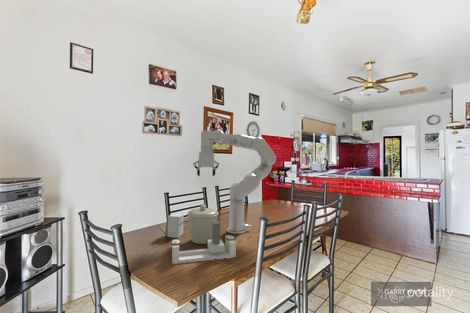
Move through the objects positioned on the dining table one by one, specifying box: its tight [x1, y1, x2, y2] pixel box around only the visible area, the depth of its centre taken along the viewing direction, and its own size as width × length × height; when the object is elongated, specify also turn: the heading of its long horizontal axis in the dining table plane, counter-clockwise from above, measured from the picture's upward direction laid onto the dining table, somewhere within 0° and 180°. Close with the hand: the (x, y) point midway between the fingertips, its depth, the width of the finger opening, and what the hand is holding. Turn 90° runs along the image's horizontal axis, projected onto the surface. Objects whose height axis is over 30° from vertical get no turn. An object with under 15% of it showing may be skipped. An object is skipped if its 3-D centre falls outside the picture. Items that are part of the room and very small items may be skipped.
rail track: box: [170, 235, 237, 265], centre depth 114 cm, size 32×10×8 cm, turn 105°
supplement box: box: [167, 213, 185, 239], centre depth 142 cm, size 7×7×13 cm
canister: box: [186, 204, 220, 245], centre depth 134 cm, size 18×18×21 cm
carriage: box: [207, 220, 225, 253], centre depth 116 cm, size 7×9×13 cm
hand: (206, 175), depth 151 cm, fingers open, 9 cm apart
